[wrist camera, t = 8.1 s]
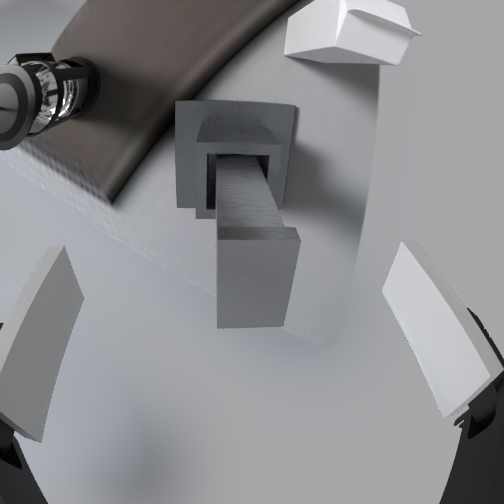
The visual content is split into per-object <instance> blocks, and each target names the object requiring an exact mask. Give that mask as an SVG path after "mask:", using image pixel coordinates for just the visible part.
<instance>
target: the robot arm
mask: <svg viewBox="0 0 504 504" xmlns="http://www.w3.org/2000/svg"><path fill="white" fill-rule="evenodd" d="M382 292H383V294H384V296H385V298H386V299H387V301H388V304H389V305H390V307H391V309H392V311H393V313H394V314H395V317H396V318H397V320H398V322H399V324H400V326H401V328H402V330H403V332H404V334H405V336H406V338H407V339H408V341H409V344H410V346H411V348H412V350H413V352H414V354H415V356H416V358H417V360H418V362H419V364H420V366H421V368H422V371H423V373H424V375H425V377H426V379H427V382H428V384H429V386H430V388H431V391H432V393H433V395H434V398H435V400H436V402H437V405H438V407H439V409H440V412H441V414H442V417H443V419H445V418H447V417H450V416H452V415H454V414H456V413H458V412H459V411H461V410H462V409H463V408H464V407H465V406H466V405H468V406H469V408H470V409H468V410H467V411H466V412H465V413H464V414H462V415H461V416H460V417H459V418H458V419H457V420H456V421H455V423H454V426H456V425H457V424H459V423H460V422H461V421H463V420H464V422H463V423H461V424H460V425H459V427H460V428H462V432H461V436H460V441H459V445H458V449H457V452H456V456H455V459H454V463H453V466H452V469H451V472H450V476H449V479H448V482H447V485H446V487H445V490H444V493H443V496H442V498H441V501H440V503H439V504H504V359H503V357H502V355H501V354H500V352H499V350H498V349H497V347H496V345H495V344H494V342H493V340H492V339H491V338H490V337H489V334H488V332H487V331H486V329H484V326H483V324H482V323H481V321H480V320H479V318H478V317H477V316H476V315H475V314H474V313H473V312H472V311H471V310H470V309H469V308H466V307H465V305H464V304H463V303H462V301H461V299H460V298H459V297H458V295H457V294H456V292H455V291H454V290H453V288H452V287H451V286H450V284H449V283H448V281H447V280H446V279H445V277H444V276H443V275H442V273H441V272H440V271H439V270H438V268H437V267H436V266H435V265H434V263H433V262H432V261H431V259H430V258H429V257H428V256H427V254H426V253H425V252H424V251H423V249H422V248H421V247H420V246H419V244H418V243H417V242H416V241H401V244H400V246H399V249H398V252H397V254H396V257H395V260H394V262H393V265H392V268H391V270H390V272H389V275H388V277H387V280H386V282H385V284H384V287H383V289H382ZM83 300H84V297H83V294H82V292H81V290H80V287H79V285H78V282H77V279H76V277H75V274H74V271H73V269H72V266H71V263H70V260H69V258H68V255H67V252H66V249H65V246H49V247H48V248H47V250H46V251H45V253H44V254H43V256H42V257H41V259H40V261H39V262H38V264H37V265H36V267H35V268H34V270H33V272H32V273H31V275H30V277H29V278H28V280H27V282H26V283H25V285H24V287H23V288H22V290H21V292H20V294H19V296H18V298H17V299H16V301H15V303H14V305H13V307H12V308H11V310H10V312H9V314H8V316H7V318H6V320H5V322H4V323H0V504H48V503H47V501H46V499H45V498H44V496H43V494H42V492H41V490H40V488H39V486H38V485H37V483H36V481H35V478H34V476H33V474H32V473H31V470H30V468H29V466H28V464H27V462H26V460H25V457H24V455H23V453H22V450H21V448H20V445H19V443H18V441H17V439H16V438H15V436H13V435H14V431H17V432H18V433H19V434H21V435H22V436H23V437H25V438H28V439H31V440H34V441H37V442H40V443H41V442H42V437H43V432H44V427H45V423H46V418H47V414H48V409H49V405H50V401H51V397H52V393H53V390H54V386H55V382H56V379H57V375H58V372H59V369H60V365H61V362H62V359H63V356H64V353H65V350H66V347H67V343H68V341H69V338H70V335H71V332H72V329H73V326H74V324H75V321H76V318H77V316H78V313H79V310H80V308H81V305H82V303H83Z"/></svg>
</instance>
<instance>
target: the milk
mask: <svg viewBox="0 0 504 504" xmlns="http://www.w3.org/2000/svg"><path fill="white" fill-rule="evenodd" d="M413 36H422V34H421V33H419V32H417V31H415V30H413V29H411V26H410V23H409V20H408V16H407V14H406V10H405V9H404V8H403V7H401V6H399V5H396V4H394V3H392V2H389V1H387V0H315V1H313V2H312V3H310V4H309V5H307V6H305V7H304V8H302V9H301V10H299V11H298V12H296V13H295V14H293V15H292V16H291V17H289V18H288V26H287V34H286V42H285V50H284V56H290V57H296V58H302V59H307V60H313V61H318V62H322V63H363V64H381V65H394V66H398V65H399V63H400V61H401V59H402V57H403V55H404V53H405V51H406V49H407V47H408V45H409V43H410V41H411V39H412V37H413Z"/></svg>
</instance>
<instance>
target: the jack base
mask: <svg viewBox="0 0 504 504" xmlns="http://www.w3.org/2000/svg"><path fill="white" fill-rule="evenodd" d="M294 111H295V106H294V105H288V104H278V103H266V102H252V101H230V100H176V101H175V163H176V195H177V208H196V219H216V163H217V155H251V156H256V158H257V160H258V163H259V165H260V167H261V170H262V172H263V174H264V177H265V179H266V182H267V184H268V187H269V189H270V191H271V194H272V196H273V199H274V201H275V204H276V206H277V209H282V207H283V199H284V192H285V184H286V177H287V169H288V161H289V153H290V145H291V137H292V128H293V120H294Z"/></svg>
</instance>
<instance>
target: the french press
mask: <svg viewBox="0 0 504 504" xmlns="http://www.w3.org/2000/svg"><path fill="white" fill-rule="evenodd" d="M21 63H24V64H23V65H21ZM33 63H40V64H34V65H30V64H33ZM70 66H78V67H76V68H71V67H70ZM82 78H88V81H89V90H88V96H87V98H86V101H85V102H84V104H83V105H82V106H80V107H79V108H77V109H75V110H72V109H73V108H74V106H75V104H76V101H77V98H78V94H79V80H78V79H82ZM99 90H100V77H99V73H98V71H97V69H96V67H95V66H94V65H93V64H92V63H91V62H90V61H88V60H86V59H83V58H70V59H64V60H60V61H58V62H56V61H55V59H54V57H53V55H52V53H24V54H16V55H15V56H14V57H13V58H12V59H11V60H10V61H9V62H8V64H5V65H2V66H0V150H3V151H4V150H9V149H11V148H13V147H15V146H17V145H18V144H19V143H21V142H22V141H23V140H24V138H25V137H33V136H35V135H38V134H40V133H42V132H44V131H46V130H48V129H50V128H52V127H54V126H56V125H58V124H60V123H62V122H65V121H67V120H69V119H73V118H77V117H79V116H81V115H83V114H85V113H86V112H87V111H88V110H89V109H90V108H91V107H92V106H93V105H94V103H95V101H96V99H97V97H98V94H99ZM35 119H36V120H37V121H39V122H41V123H44V124H47V125H46V126H45V127H44V128H43V129H42V130H41V131H40V132H36V133H29V131H30V129H31V127H32V124H33V122H34V120H35Z"/></svg>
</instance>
